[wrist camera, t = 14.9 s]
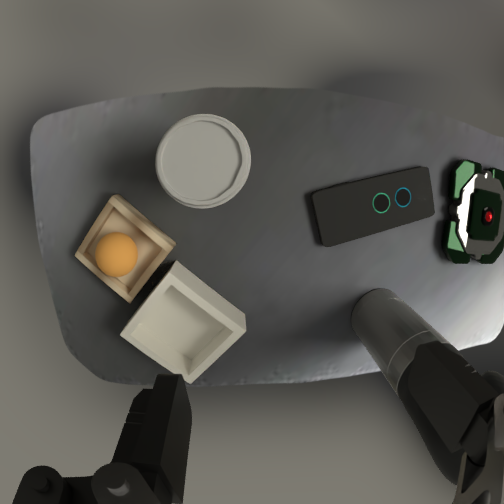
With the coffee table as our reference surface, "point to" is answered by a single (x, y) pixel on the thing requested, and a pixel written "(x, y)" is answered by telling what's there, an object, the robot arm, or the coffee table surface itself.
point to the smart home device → (372, 205)
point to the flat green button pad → (475, 214)
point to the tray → (140, 231)
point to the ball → (116, 254)
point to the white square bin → (184, 324)
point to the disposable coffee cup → (203, 161)
